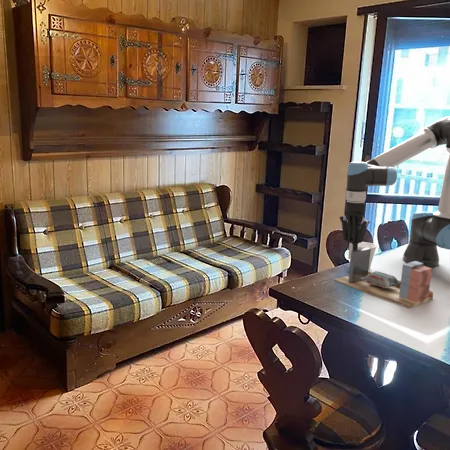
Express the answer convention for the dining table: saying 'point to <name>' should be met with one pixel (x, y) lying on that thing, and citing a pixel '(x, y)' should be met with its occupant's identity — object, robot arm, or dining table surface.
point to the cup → (370, 246)
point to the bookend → (359, 264)
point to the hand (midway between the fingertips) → (351, 258)
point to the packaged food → (381, 279)
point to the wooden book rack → (401, 286)
